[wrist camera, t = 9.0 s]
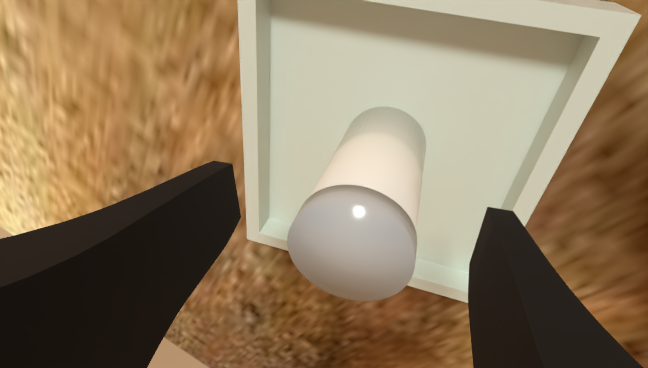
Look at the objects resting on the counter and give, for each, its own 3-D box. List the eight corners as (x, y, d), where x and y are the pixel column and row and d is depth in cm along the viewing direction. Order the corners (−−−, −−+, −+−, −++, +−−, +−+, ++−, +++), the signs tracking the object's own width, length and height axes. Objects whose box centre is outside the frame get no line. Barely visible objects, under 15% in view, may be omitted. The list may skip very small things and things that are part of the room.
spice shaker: (426, 100, 17) (410, 203, 10) (430, 180, 19) (418, 307, 12) (336, 107, 18) (273, 201, 12) (349, 181, 20) (301, 295, 14)
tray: (614, 2, 14) (641, 15, 12) (478, 273, 23) (480, 306, 21) (262, -47, 16) (236, -43, 14) (263, 214, 25) (247, 239, 23)
